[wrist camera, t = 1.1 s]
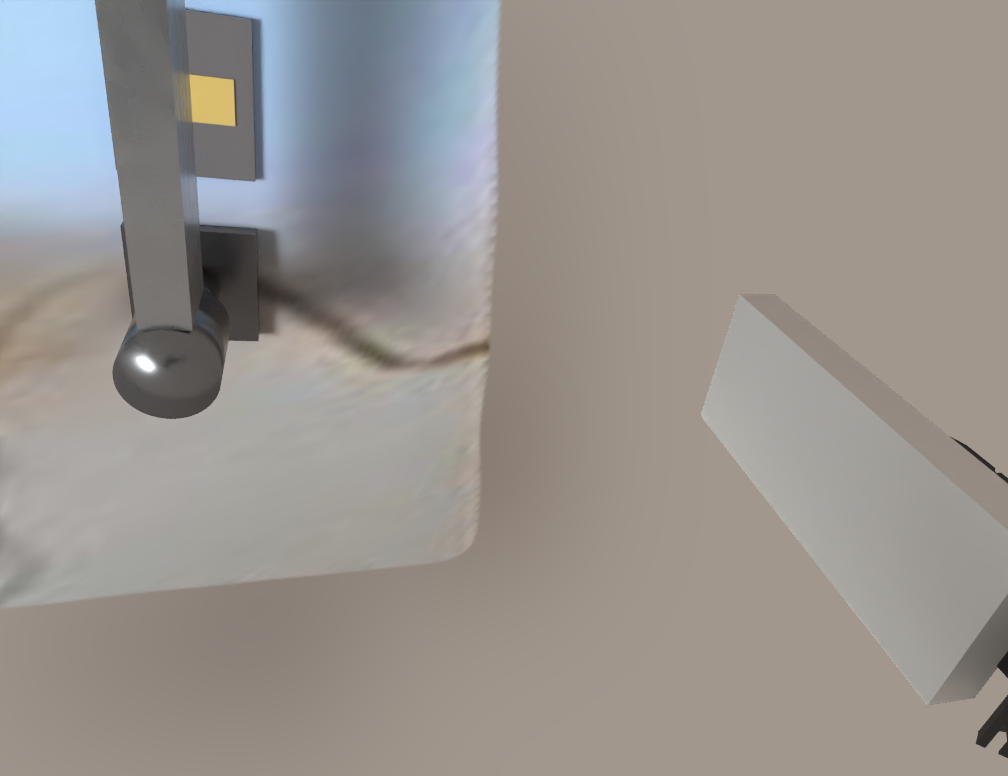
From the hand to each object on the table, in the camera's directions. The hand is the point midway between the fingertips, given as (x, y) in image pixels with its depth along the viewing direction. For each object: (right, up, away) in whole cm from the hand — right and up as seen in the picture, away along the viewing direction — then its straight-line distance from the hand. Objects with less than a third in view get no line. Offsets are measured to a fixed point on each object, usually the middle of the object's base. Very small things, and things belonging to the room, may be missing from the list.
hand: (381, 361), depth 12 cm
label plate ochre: (-12, +13, +20) cm, 26 cm away
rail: (-11, +10, +16) cm, 22 cm away
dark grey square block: (-14, +5, +24) cm, 28 cm away
